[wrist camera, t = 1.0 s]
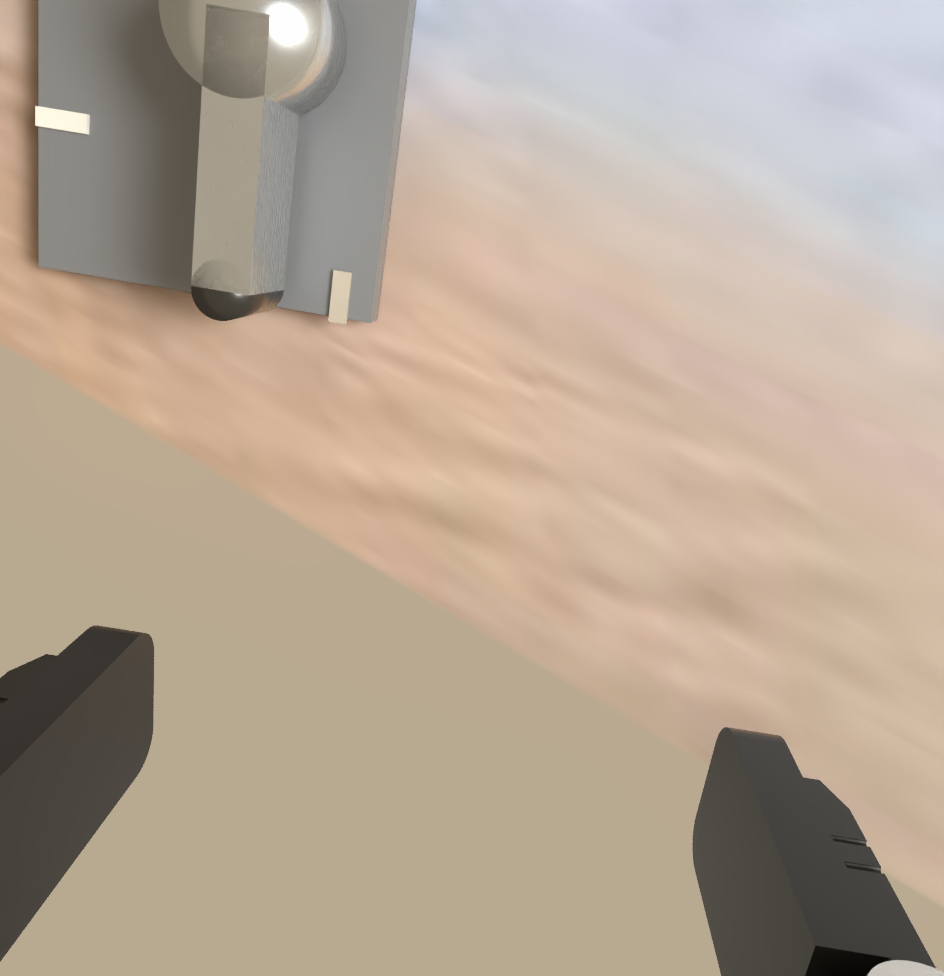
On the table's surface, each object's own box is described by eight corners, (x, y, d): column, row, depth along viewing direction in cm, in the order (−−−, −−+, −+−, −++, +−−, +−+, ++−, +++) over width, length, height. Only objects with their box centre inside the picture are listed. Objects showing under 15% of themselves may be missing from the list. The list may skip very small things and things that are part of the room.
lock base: (61, -110, 30) (35, -131, 28) (422, -53, 29) (416, -70, 28) (59, 270, 34) (35, 271, 32) (376, 324, 33) (369, 328, 32)
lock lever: (212, -50, 28) (162, -98, 24) (354, -27, 28) (326, -72, 24) (193, 301, 31) (146, 308, 27) (319, 322, 31) (289, 332, 27)
